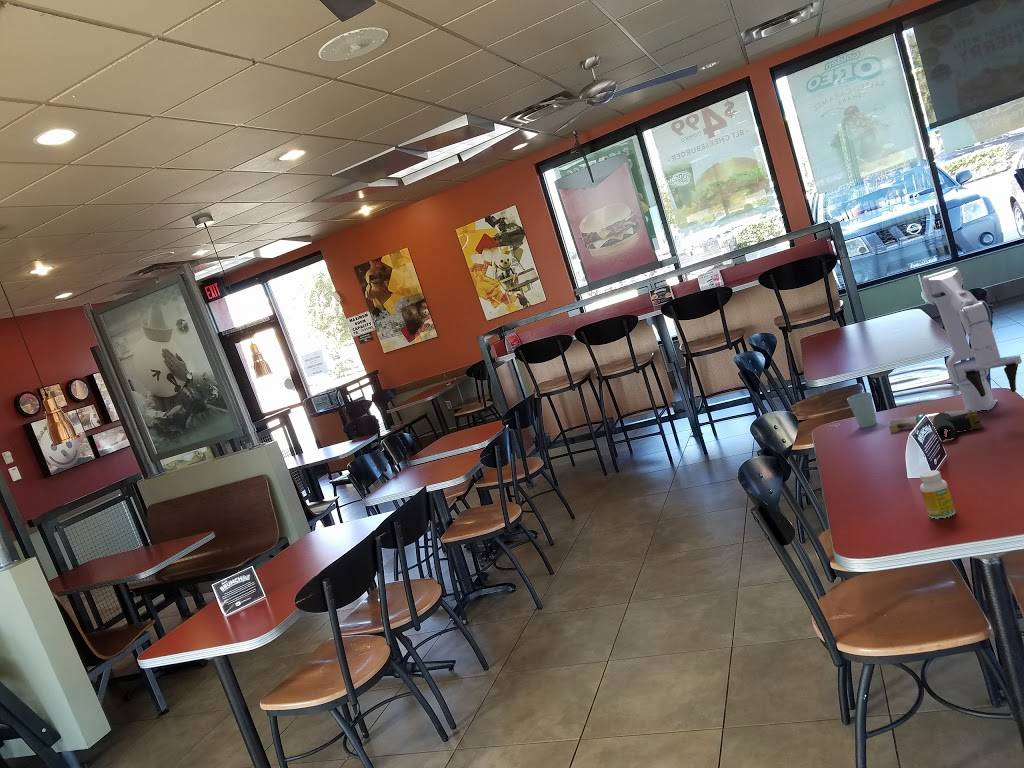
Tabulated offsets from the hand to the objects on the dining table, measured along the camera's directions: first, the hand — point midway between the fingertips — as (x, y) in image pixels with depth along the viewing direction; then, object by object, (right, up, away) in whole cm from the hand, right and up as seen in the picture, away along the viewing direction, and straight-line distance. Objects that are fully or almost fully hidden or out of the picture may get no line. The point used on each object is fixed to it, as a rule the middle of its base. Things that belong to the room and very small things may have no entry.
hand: (998, 393), depth 211 cm
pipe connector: (-5, -12, +10) cm, 16 cm away
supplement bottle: (-39, -26, -42) cm, 63 cm away
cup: (-13, -11, +49) cm, 52 cm away
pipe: (-5, -10, +25) cm, 27 cm away
